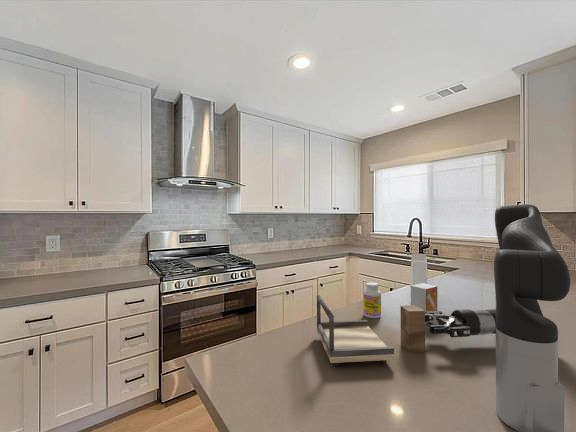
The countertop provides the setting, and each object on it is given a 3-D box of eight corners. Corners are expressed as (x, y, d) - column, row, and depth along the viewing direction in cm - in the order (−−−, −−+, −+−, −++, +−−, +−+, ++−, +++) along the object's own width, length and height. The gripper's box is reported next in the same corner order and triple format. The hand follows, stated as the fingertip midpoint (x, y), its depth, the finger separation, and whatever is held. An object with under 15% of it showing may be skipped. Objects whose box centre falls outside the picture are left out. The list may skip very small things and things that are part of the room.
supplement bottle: (361, 317, 110) (361, 284, 110) (365, 311, 116) (365, 280, 116) (379, 320, 107) (379, 286, 107) (382, 314, 113) (382, 282, 113)
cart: (394, 367, 74) (393, 313, 74) (330, 370, 73) (329, 316, 73) (366, 334, 94) (366, 292, 94) (316, 337, 93) (315, 294, 93)
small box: (426, 324, 102) (425, 289, 102) (410, 319, 108) (410, 285, 108) (438, 320, 107) (437, 285, 107) (422, 315, 112) (422, 282, 112)
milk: (411, 299, 133) (410, 252, 133) (425, 300, 131) (424, 253, 131) (413, 303, 127) (412, 254, 127) (427, 304, 125) (427, 254, 125)
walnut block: (425, 351, 83) (424, 310, 83) (408, 352, 82) (408, 311, 82) (416, 343, 88) (415, 305, 88) (400, 344, 87) (400, 305, 87)
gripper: (456, 302, 94) (410, 304, 92) (491, 318, 79) (436, 320, 78) (457, 325, 94) (410, 327, 92) (491, 344, 79) (436, 347, 78)
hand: (422, 324), depth 85 cm, fingers open, 8 cm apart
